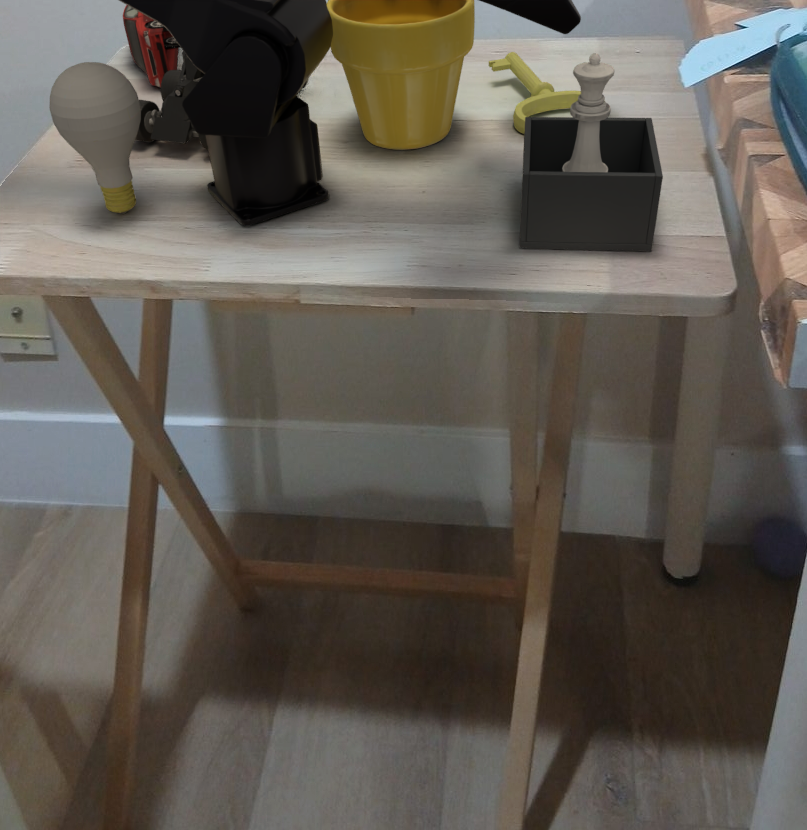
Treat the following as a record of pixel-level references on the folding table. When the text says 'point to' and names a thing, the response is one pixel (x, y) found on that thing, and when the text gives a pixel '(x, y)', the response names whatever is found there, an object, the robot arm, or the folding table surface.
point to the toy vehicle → (171, 108)
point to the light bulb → (99, 125)
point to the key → (533, 91)
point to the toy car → (150, 45)
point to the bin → (590, 187)
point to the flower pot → (403, 65)
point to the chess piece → (589, 115)
